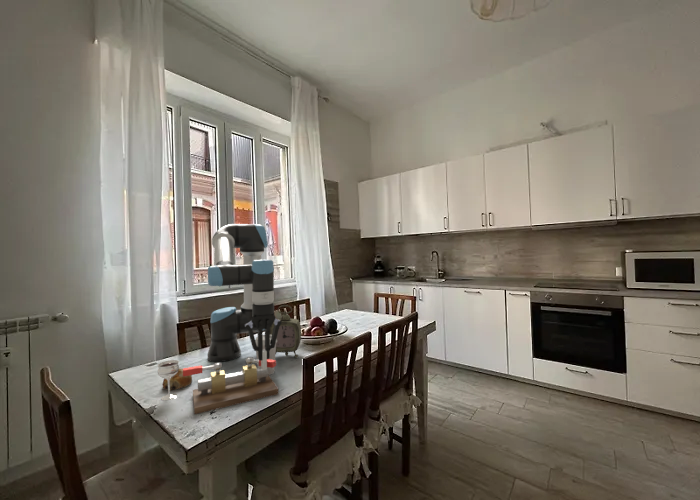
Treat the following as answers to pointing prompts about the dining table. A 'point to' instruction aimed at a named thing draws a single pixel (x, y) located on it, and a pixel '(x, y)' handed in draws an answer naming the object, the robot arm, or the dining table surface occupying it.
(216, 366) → the valve lever
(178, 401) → the dining table surface
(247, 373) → the manifold pipe
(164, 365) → the wineglass
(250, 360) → the valve lever
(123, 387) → the dining table surface
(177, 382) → the bread roll
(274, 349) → the coffee cup
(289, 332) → the tabletop clock
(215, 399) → the valve board
